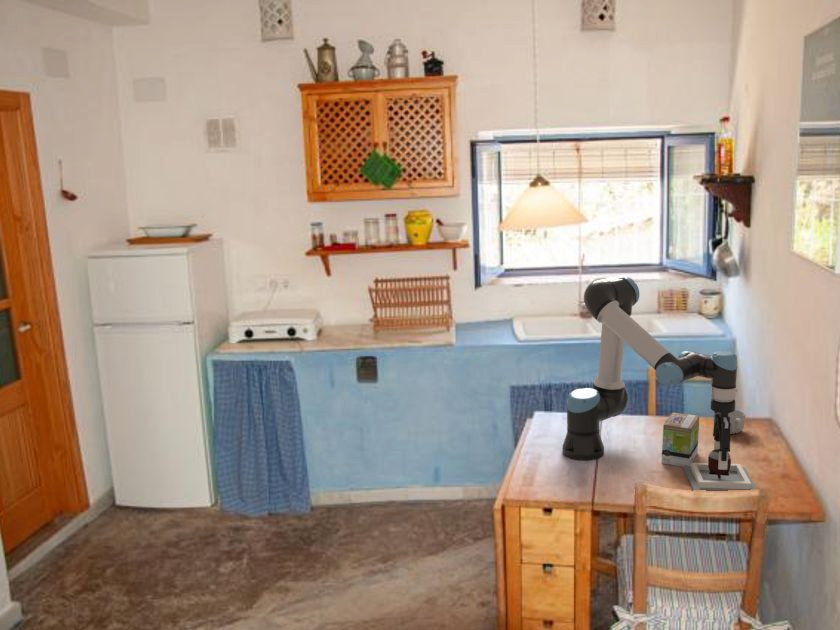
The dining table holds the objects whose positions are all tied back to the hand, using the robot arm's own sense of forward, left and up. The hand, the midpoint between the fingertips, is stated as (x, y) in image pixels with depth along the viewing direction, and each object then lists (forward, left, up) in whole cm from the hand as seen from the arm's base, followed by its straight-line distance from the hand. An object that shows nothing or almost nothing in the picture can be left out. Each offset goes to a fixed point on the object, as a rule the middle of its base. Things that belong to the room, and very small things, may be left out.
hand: (720, 464), depth 261 cm
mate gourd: (0, 0, -4) cm, 4 cm away
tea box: (-10, +19, -6) cm, 22 cm away
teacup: (+13, +46, -6) cm, 48 cm away
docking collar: (0, 0, -6) cm, 6 cm away
